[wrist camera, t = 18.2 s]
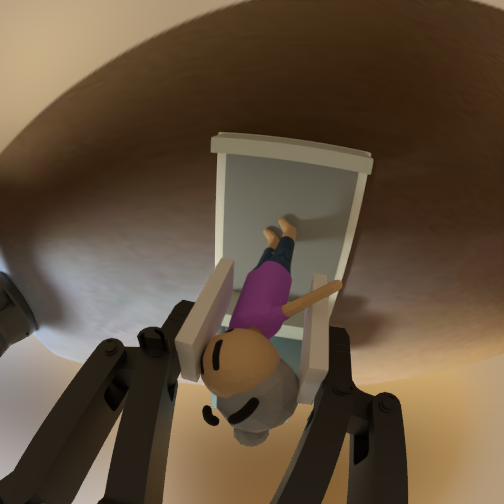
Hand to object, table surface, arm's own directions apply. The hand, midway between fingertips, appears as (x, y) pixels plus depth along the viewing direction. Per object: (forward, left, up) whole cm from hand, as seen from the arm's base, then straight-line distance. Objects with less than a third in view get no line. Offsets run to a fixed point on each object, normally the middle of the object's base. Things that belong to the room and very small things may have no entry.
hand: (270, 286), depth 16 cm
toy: (+1, 0, -7) cm, 7 cm away
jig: (0, -4, -7) cm, 9 cm away
